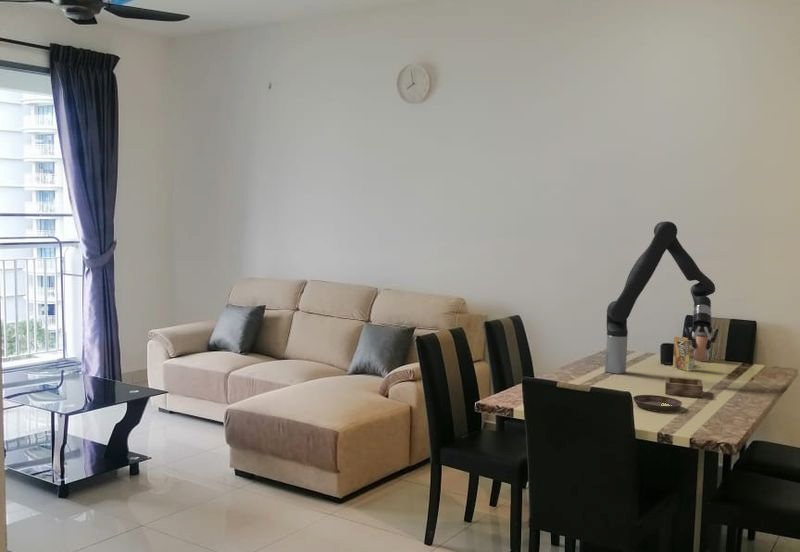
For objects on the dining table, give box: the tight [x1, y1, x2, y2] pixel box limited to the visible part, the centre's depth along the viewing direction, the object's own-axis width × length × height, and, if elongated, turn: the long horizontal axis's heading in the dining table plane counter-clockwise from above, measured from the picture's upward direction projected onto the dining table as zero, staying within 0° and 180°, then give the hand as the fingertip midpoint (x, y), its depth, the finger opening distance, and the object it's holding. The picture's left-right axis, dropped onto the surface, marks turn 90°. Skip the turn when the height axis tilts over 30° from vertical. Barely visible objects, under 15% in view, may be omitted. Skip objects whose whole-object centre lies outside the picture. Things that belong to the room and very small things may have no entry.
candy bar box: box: [691, 330, 712, 363], centre depth 391 cm, size 11×5×16 cm, turn 6°
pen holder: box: [659, 342, 674, 366], centre depth 376 cm, size 9×9×10 cm
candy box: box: [672, 336, 695, 372], centre depth 364 cm, size 9×4×15 cm, turn 33°
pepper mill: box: [694, 332, 708, 362], centre depth 327 cm, size 5×5×12 cm
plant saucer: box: [632, 394, 683, 412], centre depth 287 cm, size 18×18×3 cm
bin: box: [664, 376, 704, 399], centre depth 313 cm, size 14×14×5 cm
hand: (701, 348), depth 326 cm, fingers closed on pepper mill, 4 cm apart
